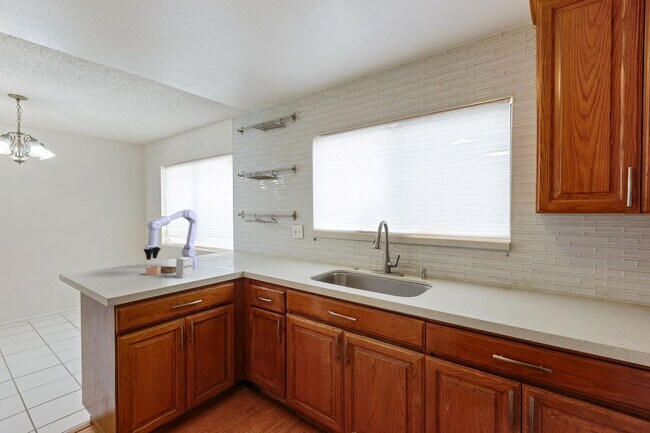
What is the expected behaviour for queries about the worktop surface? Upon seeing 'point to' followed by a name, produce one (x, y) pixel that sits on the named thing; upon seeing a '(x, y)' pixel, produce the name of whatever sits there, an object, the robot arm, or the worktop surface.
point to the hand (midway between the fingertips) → (151, 259)
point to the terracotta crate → (153, 270)
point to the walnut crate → (168, 269)
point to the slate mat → (158, 275)
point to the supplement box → (184, 267)
